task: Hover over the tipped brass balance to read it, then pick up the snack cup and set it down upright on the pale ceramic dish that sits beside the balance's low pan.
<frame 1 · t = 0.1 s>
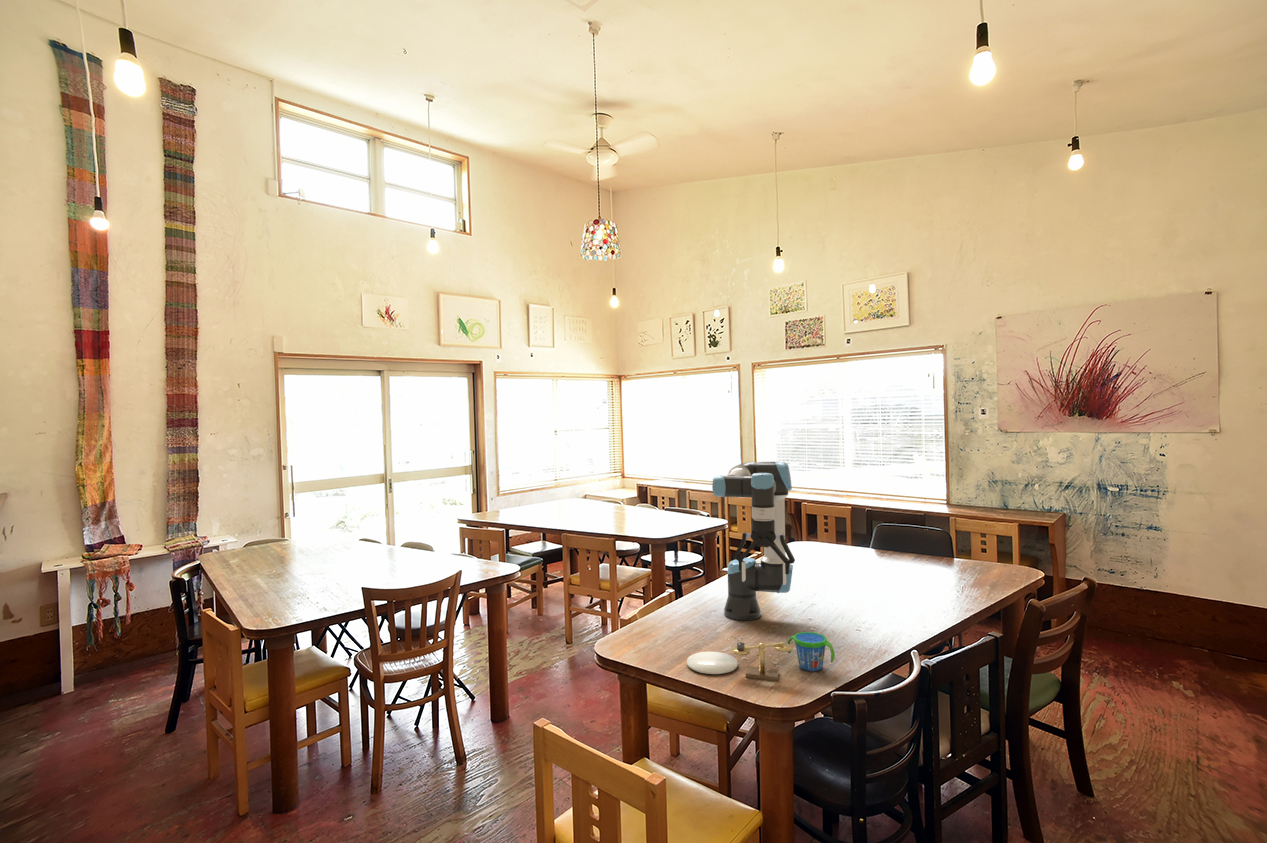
hand: (764, 582, 203), 28 cm above the table, fingers open, 13 cm apart
snack cup: (810, 668, 201), on the table
dish: (712, 664, 204), on the table
balance: (762, 675, 196), on the table
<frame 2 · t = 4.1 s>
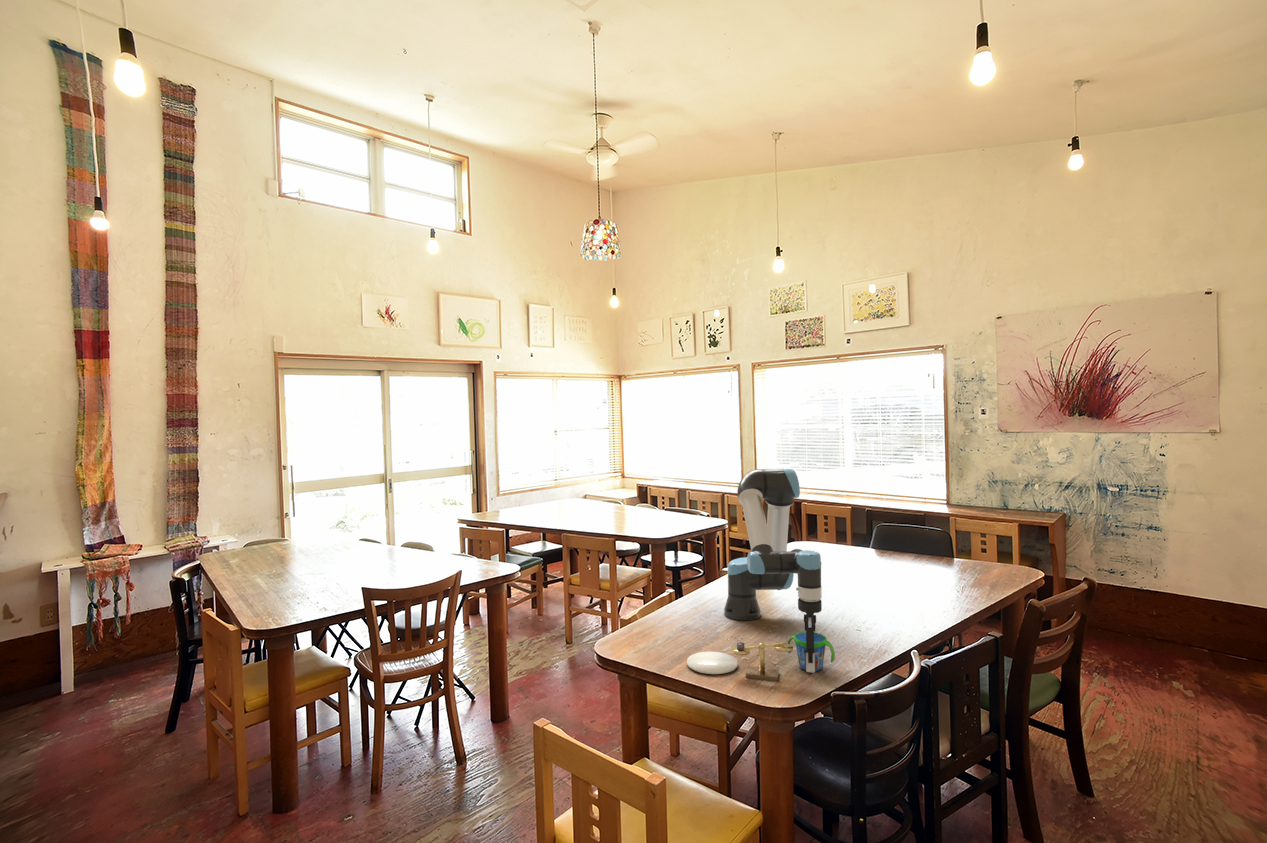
hand: (810, 665, 201), 1 cm above the table, fingers closed on snack cup, 9 cm apart
snack cup: (810, 668, 201), on the table, touching gripper
when the fingers open (3 cm above the table, at t = 11.7 s): snack cup moves 2 cm, resting on dish.
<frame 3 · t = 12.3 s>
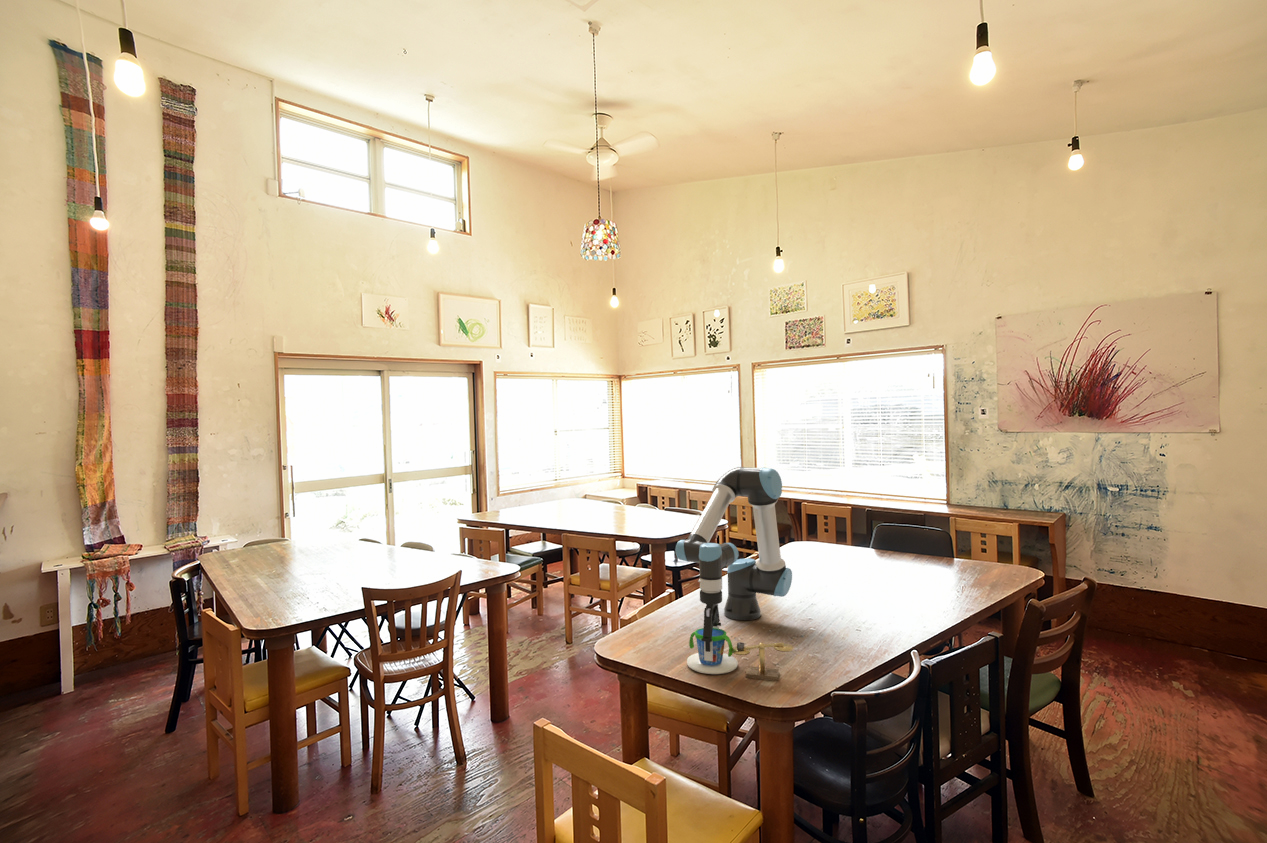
hand: (711, 652, 204), 4 cm above the table, fingers open, 13 cm apart
snack cup: (710, 663, 203), point 1 cm above the table, touching dish, gripper
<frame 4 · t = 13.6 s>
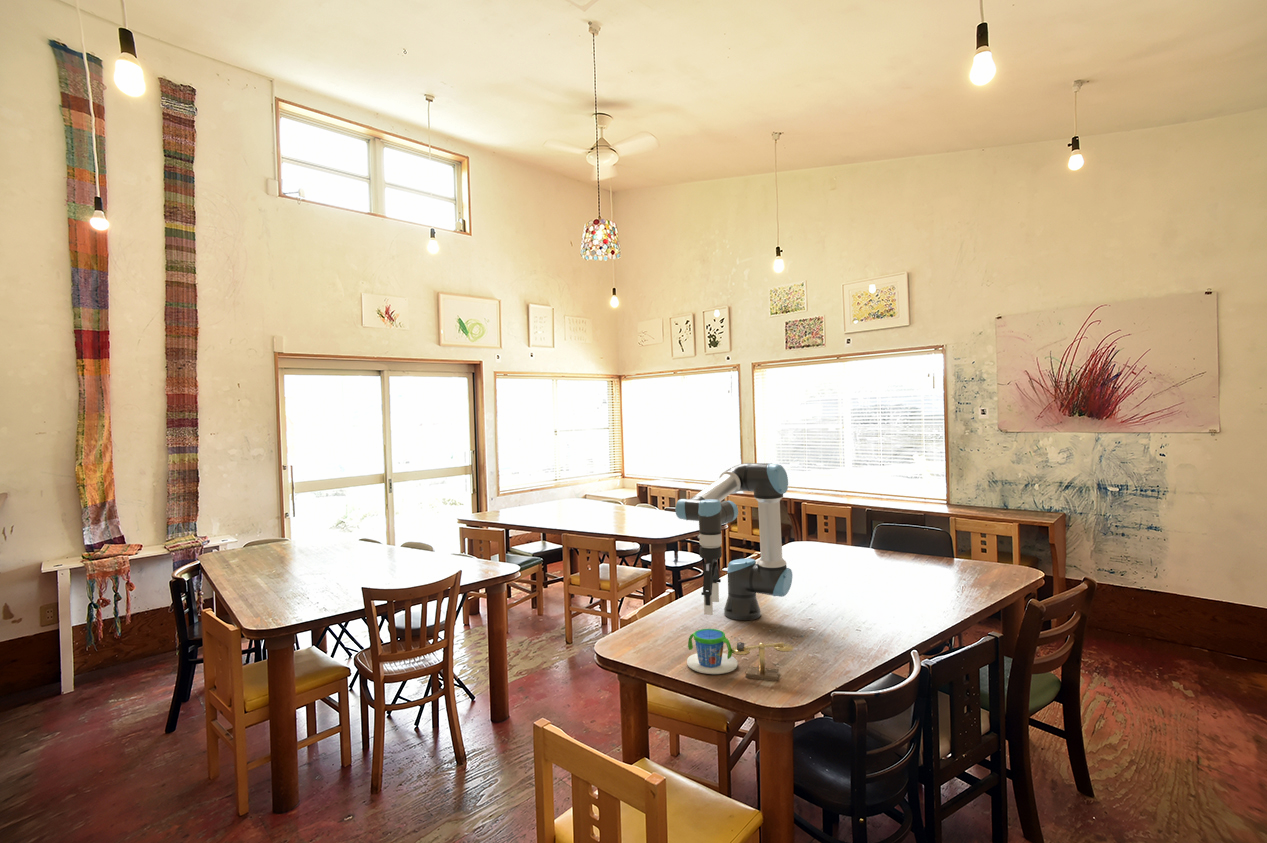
hand: (711, 607, 205), 19 cm above the table, fingers open, 13 cm apart
snack cup: (709, 664, 202), point 1 cm above the table, touching dish
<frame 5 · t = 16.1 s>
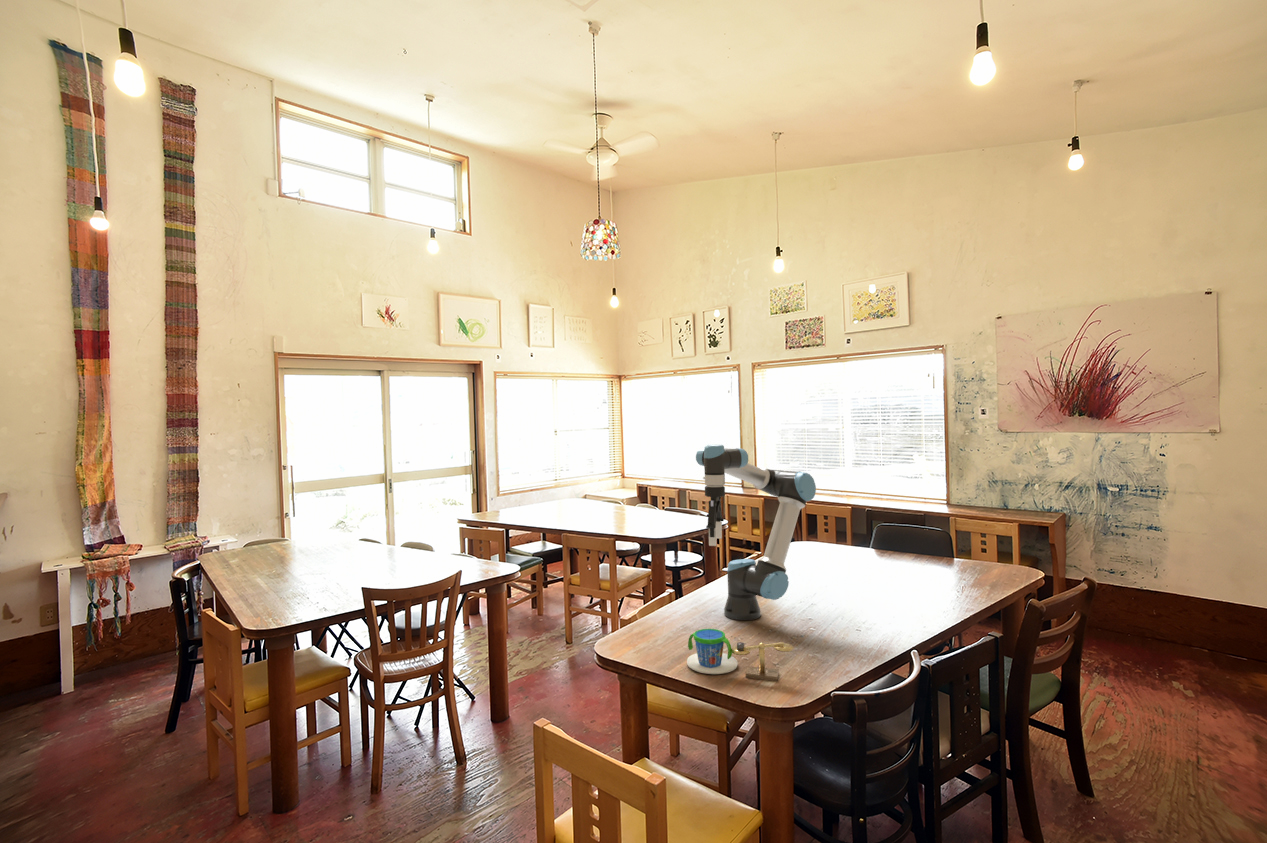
hand: (715, 542, 228), 37 cm above the table, fingers open, 13 cm apart
nothing on the table moved.
at the end: snack cup 2.4 cm from the dish (horizontally); snack cup tilted 0°; snack cup point 1.0 cm above the table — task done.
